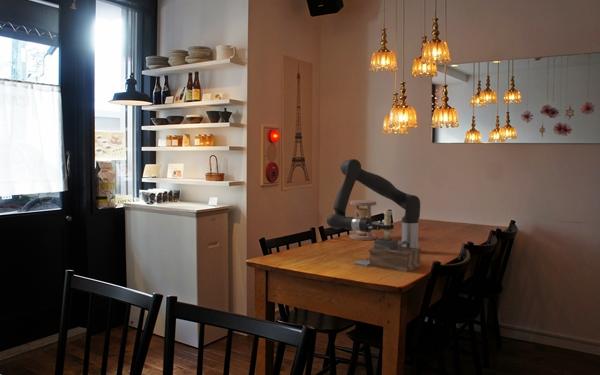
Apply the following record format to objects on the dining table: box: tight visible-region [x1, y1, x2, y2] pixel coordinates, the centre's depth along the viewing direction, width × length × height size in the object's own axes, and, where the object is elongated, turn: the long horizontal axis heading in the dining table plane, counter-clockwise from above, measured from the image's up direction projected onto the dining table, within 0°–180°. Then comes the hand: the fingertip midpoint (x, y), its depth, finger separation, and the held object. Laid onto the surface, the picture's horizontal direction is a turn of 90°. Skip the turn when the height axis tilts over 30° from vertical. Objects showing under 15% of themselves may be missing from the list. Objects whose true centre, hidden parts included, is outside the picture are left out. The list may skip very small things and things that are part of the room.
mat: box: [353, 259, 370, 267], centre depth 268 cm, size 10×8×1 cm
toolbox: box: [368, 237, 422, 273], centre depth 262 cm, size 17×21×13 cm
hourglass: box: [349, 199, 377, 241], centre depth 347 cm, size 18×18×25 cm
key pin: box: [383, 210, 393, 241], centre depth 264 cm, size 4×4×18 cm
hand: (391, 227), depth 263 cm, fingers closed on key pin, 3 cm apart
